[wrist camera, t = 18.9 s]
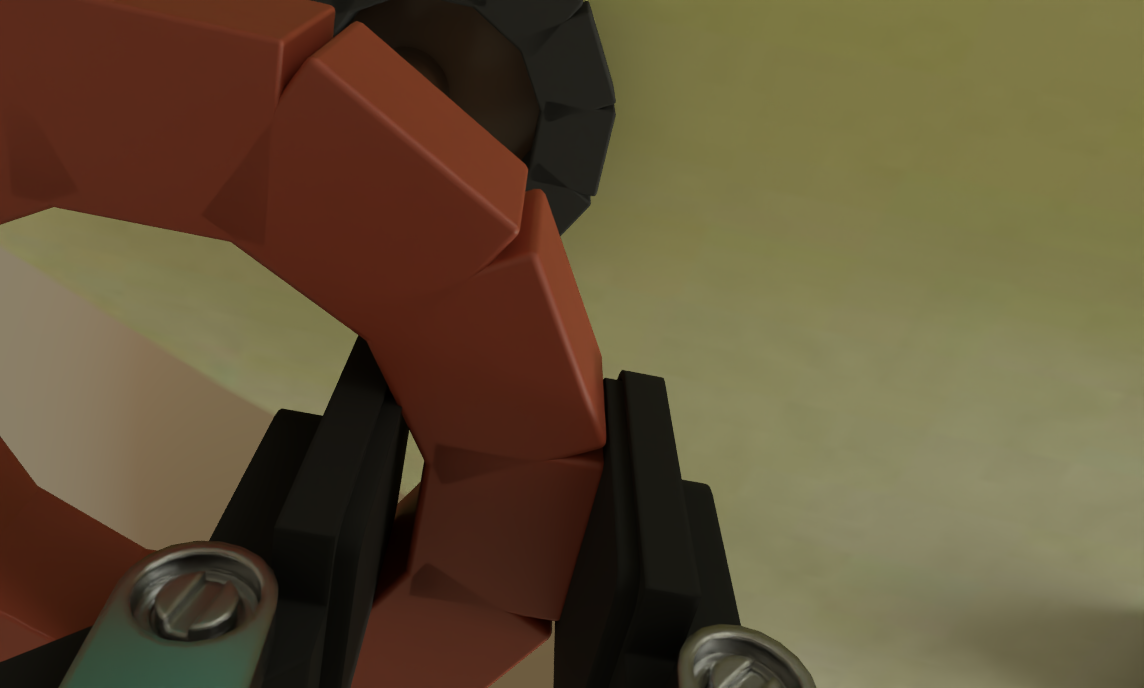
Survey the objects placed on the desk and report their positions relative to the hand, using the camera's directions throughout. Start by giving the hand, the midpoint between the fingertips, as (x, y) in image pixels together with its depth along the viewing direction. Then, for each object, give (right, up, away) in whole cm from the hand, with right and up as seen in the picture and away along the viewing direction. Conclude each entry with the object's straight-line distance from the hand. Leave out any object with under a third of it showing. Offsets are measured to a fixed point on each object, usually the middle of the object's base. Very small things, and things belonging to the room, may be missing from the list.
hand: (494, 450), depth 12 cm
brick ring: (-4, +1, 0) cm, 4 cm away
